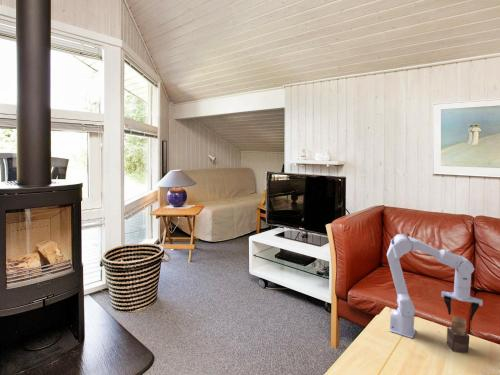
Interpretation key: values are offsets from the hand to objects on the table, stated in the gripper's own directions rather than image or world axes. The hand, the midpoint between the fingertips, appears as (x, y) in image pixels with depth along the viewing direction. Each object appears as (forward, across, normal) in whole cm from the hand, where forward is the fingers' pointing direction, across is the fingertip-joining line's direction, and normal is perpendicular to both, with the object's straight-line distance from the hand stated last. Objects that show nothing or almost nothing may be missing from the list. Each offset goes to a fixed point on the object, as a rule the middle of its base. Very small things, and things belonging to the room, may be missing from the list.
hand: (460, 316), depth 135 cm
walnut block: (+3, 0, -8) cm, 8 cm away
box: (+11, 0, -7) cm, 13 cm away
